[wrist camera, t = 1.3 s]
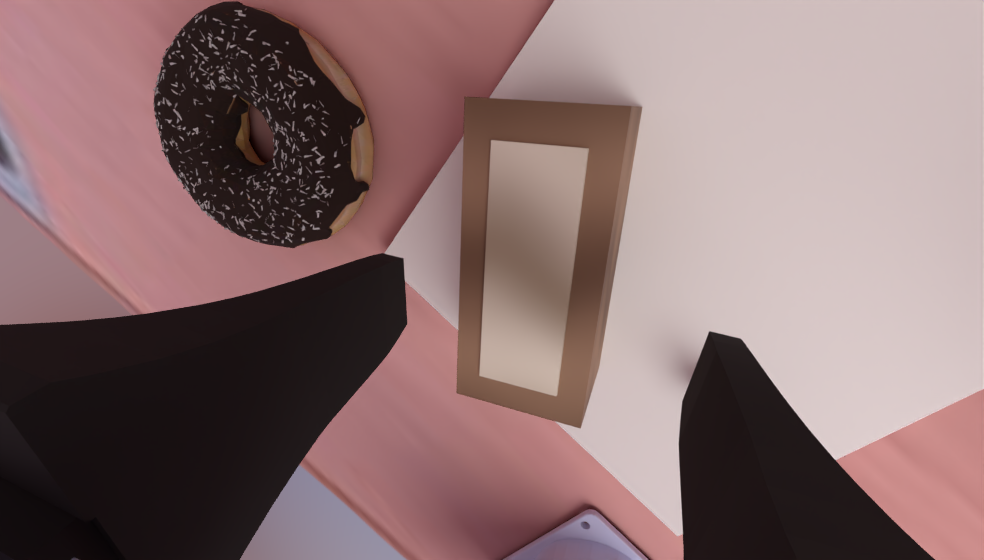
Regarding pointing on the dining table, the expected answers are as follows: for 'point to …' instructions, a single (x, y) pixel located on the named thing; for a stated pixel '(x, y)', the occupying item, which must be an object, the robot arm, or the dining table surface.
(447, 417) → the dining table surface
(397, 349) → the dining table surface
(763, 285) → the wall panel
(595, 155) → the brown rectangular box
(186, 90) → the donut
